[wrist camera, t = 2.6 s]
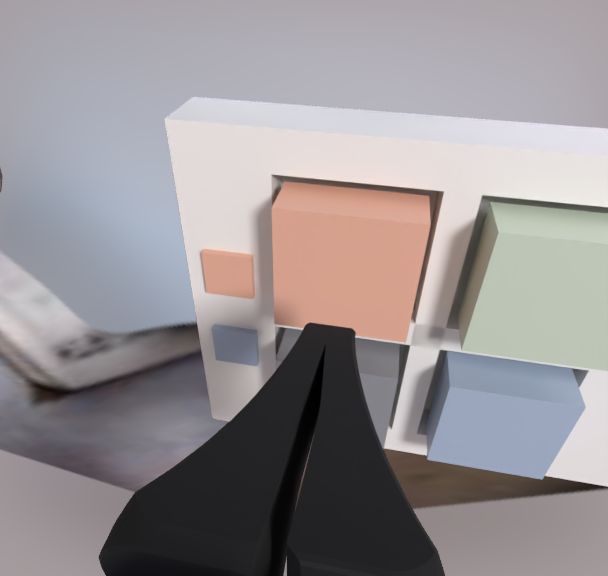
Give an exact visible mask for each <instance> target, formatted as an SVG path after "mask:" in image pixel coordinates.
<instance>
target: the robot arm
mask: <svg viewBox="0 0 608 576" xmlns="http://www.w3.org/2000/svg"><path fill="white" fill-rule="evenodd" d="M355 334H356V332H355V331H354V330H353V329H352V328H346V327H339V326H332V325H325V324H317V323H310V322H309V323H308V324H306V325H305V327H304V329H303V331H302V333H301V334H300V336H299V338H298V340H297V341H296V343H295V344H294V346H293V347H292V349H291V350H290V352H289V353H288V355H287V356H286V358H285V359H284V360H283V362H282V363H281V364H280V366H279V367H278V368H277V370H276V371H275V372H274V374H273V375H272V376H271V377H270V379H269V380H268V381H267V382H266V383H265V384H264V386H263V387H262V388H261V389H260V390H259V391H258V393H257V394H256V395H255V396H254V397H253V398H252V399H251V400H250V401H249V403H248V404H247V405H246V406H245V407H244V408H243V409H242V410H241V411H240V412H239V413H238V414H237V415H236V416H235V417H234V418H233V419H232V420H231V421H230V422H228V423H227V424H226V425H225V426H224V427H223V428H222V429H221V430H220V431H218V432H217V433H216V434H215V435H214V436H213V437H212V438H210V439H209V440H208V441H207V442H206V443H204V444H203V445H202V446H201V447H199V448H198V449H197V450H195V451H194V452H193V453H192V454H190V455H189V456H188V457H186V458H185V459H184V460H182V461H181V462H180V463H178V464H177V465H176V466H174V467H173V468H171V469H170V470H169V471H167V472H166V473H164V474H163V475H161V476H159V477H158V478H156V479H155V480H153V481H152V482H150V483H149V484H147V485H146V486H144V487H143V488H141V489H140V490H138V491H137V492H135V493H134V495H133V496H132V498H131V499H130V501H129V502H128V503H127V505H126V506H125V508H124V510H123V511H122V513H121V514H120V516H119V517H118V519H117V520H116V522H115V524H114V526H113V528H112V530H111V532H110V534H109V536H108V538H107V540H106V542H105V544H104V546H103V548H102V550H101V552H100V555H99V560H100V564H101V567H102V569H103V571H104V573H105V575H106V576H283V573H284V568H285V562H286V557H287V576H445V574H444V570H443V567H442V564H441V560H440V557H439V554H438V551H437V549H436V547H435V546H434V545H433V543H432V541H431V539H430V538H429V536H428V535H427V533H426V531H425V530H424V528H423V527H422V525H421V523H420V522H419V520H418V518H417V516H416V514H415V513H414V511H413V509H412V507H411V505H410V504H409V502H408V500H407V498H406V496H405V494H404V492H403V490H402V488H401V486H400V484H399V482H398V480H397V478H396V476H395V474H394V472H393V470H392V468H391V466H390V464H389V462H388V459H387V457H386V455H385V452H384V450H383V448H382V445H381V443H380V440H379V438H378V435H377V432H376V430H375V427H374V424H373V421H372V418H371V415H370V412H369V409H368V406H367V402H366V399H365V395H364V391H363V387H362V383H361V379H360V374H359V369H358V364H357V357H356V348H355ZM314 432H315V433H314ZM313 436H314V437H313ZM312 439H313V441H312ZM311 443H312V446H311ZM310 447H311V450H310ZM309 450H310V454H309ZM308 454H309V459H308V463H307V467H306V471H305V475H304V479H303V483H302V487H301V491H300V495H299V499H298V503H297V507H296V502H297V496H298V491H299V487H300V483H301V479H302V475H303V471H304V468H305V464H306V461H307V457H308ZM295 507H296V511H295ZM294 513H295V515H294Z"/></svg>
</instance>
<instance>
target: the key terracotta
mask: <svg viewBox="0 0 608 576" xmlns="http://www.w3.org/2000/svg"><path fill="white" fill-rule="evenodd" d="M430 226H431V220H430V201H429V196H426V195H416V194H406V193H396V192H386V191H376V190H365V189H355V188H345V187H335V186H325V185H315V184H305V183H295V182H285V183H284V185H283V187H282V188H281V190H280V192H279V194H278V196H277V198H276V200H275V202H274V204H273V206H272V243H273V282H274V322H275V324H277V325H284V326H291V327H298V328H304V327H305V325H306V324H308V323H309V322H310V323H317V324H325V325H332V326H339V327H346V328H352V329H353V330H354V331H355V332H356V334H355V336H362V337H369V338H376V339H383V340H390V341H397V342H405V343H406V340H407V335H408V331H409V326H410V321H411V316H412V312H413V307H414V302H415V297H416V293H417V288H418V283H419V278H420V274H421V269H422V264H423V259H424V255H425V250H426V245H427V240H428V236H429V231H430Z"/></svg>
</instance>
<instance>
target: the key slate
mask: <svg viewBox="0 0 608 576" xmlns="http://www.w3.org/2000/svg"><path fill="white" fill-rule="evenodd" d="M585 408H586V406H585V404H584V401H583V398H582V395H581V392H580V390H579V387H578V384H577V381H576V378H575V375H574V373H573V370H572V369H571V368H564V367H557V366H550V365H543V364H536V363H529V362H522V361H515V360H508V359H501V358H493V357H486V356H479V355H472V354H465V353H458V352H451V351H447V354H446V357H445V360H444V364H443V367H442V371H441V374H440V378H439V381H438V385H437V388H436V392H435V395H434V398H433V402H432V405H431V409H430V412H429V416H428V419H427V423H426V434H427V460H432V461H438V462H444V463H450V464H456V465H461V466H467V467H473V468H479V469H484V470H490V471H496V472H502V473H508V474H513V475H519V476H525V477H531V478H536V479H543V478H544V476H545V474H546V473H547V471H548V469H549V468H550V466H551V464H552V463H553V461H554V459H555V458H556V456H557V454H558V453H559V451H560V449H561V448H562V446H563V445H564V443H565V441H566V440H567V438H568V436H569V435H570V433H571V431H572V430H573V428H574V426H575V425H576V423H577V421H578V420H579V418H580V416H581V415H582V413H583V411H584V410H585Z"/></svg>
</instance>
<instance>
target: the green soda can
mask: <svg viewBox="0 0 608 576" xmlns="http://www.w3.org/2000/svg"><path fill="white" fill-rule="evenodd" d="M1 188H2V173H1V169H0V192H1Z"/></svg>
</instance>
